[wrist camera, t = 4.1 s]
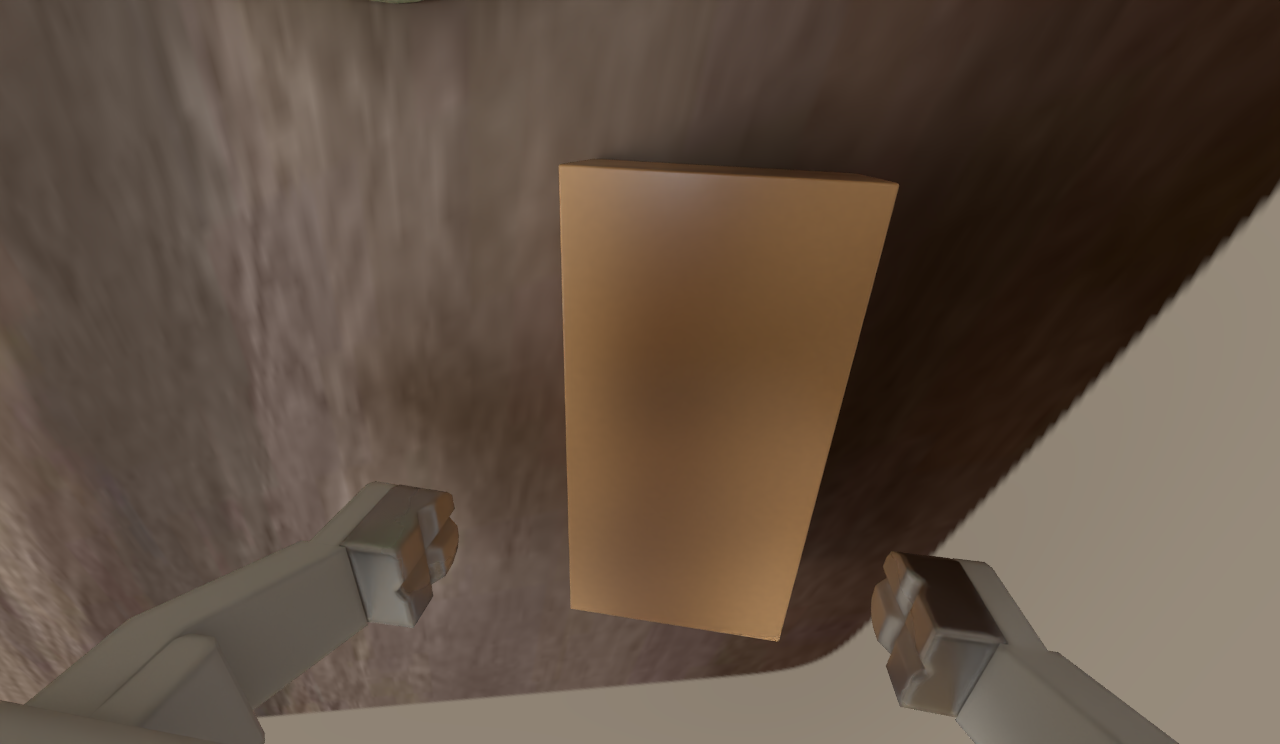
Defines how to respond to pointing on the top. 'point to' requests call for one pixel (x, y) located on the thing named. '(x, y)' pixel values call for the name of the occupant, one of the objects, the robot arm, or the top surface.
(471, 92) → the top surface
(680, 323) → the wooden block
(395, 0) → the cup
